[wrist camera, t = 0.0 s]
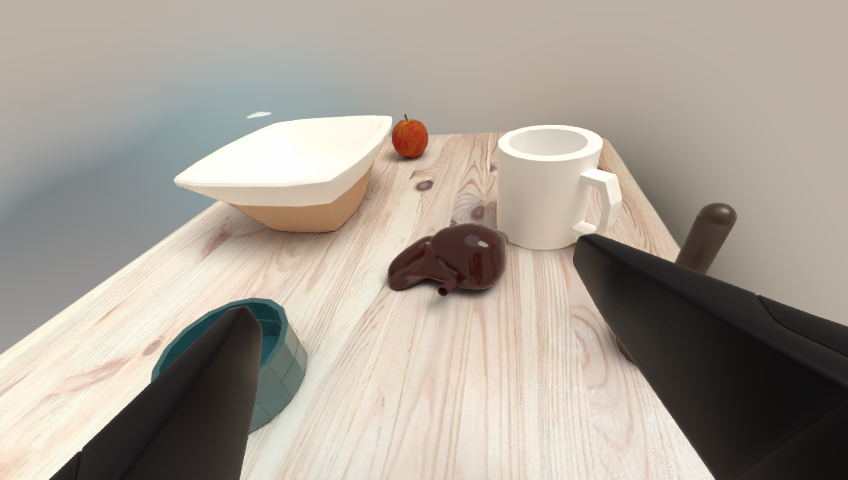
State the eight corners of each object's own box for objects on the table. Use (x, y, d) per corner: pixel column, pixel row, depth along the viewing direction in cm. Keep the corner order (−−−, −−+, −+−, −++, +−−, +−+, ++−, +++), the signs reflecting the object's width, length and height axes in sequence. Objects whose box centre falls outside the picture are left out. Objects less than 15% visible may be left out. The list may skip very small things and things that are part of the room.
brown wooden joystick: (698, 366, 23) (806, 218, 15) (642, 379, 23) (723, 236, 15) (653, 319, 26) (722, 180, 19) (604, 330, 26) (654, 193, 18)
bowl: (363, 265, 37) (337, 184, 30) (200, 253, 43) (151, 184, 37) (414, 175, 55) (404, 112, 49) (294, 175, 61) (272, 120, 55)
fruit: (437, 152, 62) (433, 110, 57) (412, 165, 58) (405, 122, 53) (412, 146, 66) (407, 107, 61) (388, 158, 62) (380, 117, 58)
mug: (629, 235, 35) (661, 143, 29) (575, 279, 31) (598, 182, 25) (531, 195, 45) (538, 119, 38) (479, 225, 40) (478, 145, 34)
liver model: (513, 277, 36) (498, 297, 26) (418, 278, 40) (375, 296, 31) (509, 220, 36) (493, 219, 26) (414, 228, 40) (370, 230, 31)
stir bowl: (300, 425, 23) (272, 391, 20) (168, 456, 22) (119, 425, 19) (314, 324, 30) (295, 288, 27) (216, 345, 30) (186, 311, 27)
